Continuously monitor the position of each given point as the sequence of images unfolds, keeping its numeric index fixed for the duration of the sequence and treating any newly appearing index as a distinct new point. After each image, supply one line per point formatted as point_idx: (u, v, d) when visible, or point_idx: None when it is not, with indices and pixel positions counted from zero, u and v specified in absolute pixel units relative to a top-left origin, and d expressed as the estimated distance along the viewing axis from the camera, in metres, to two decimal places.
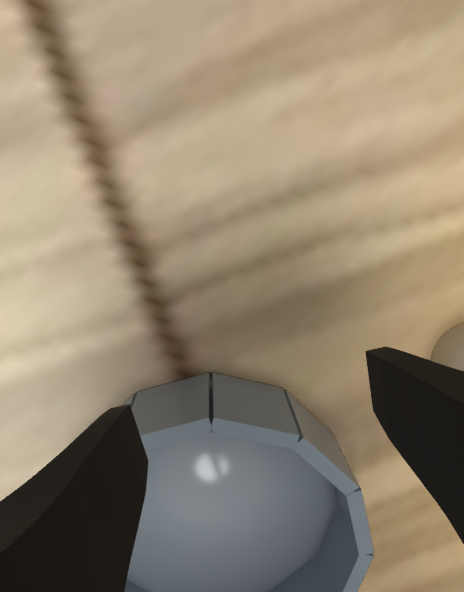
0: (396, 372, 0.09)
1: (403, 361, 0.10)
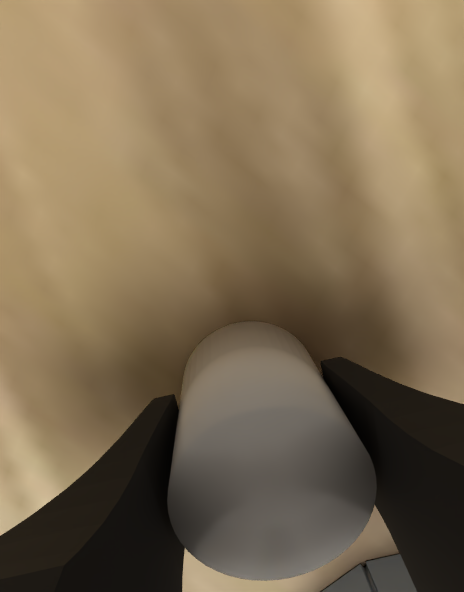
0: (342, 384, 0.09)
1: (350, 373, 0.10)
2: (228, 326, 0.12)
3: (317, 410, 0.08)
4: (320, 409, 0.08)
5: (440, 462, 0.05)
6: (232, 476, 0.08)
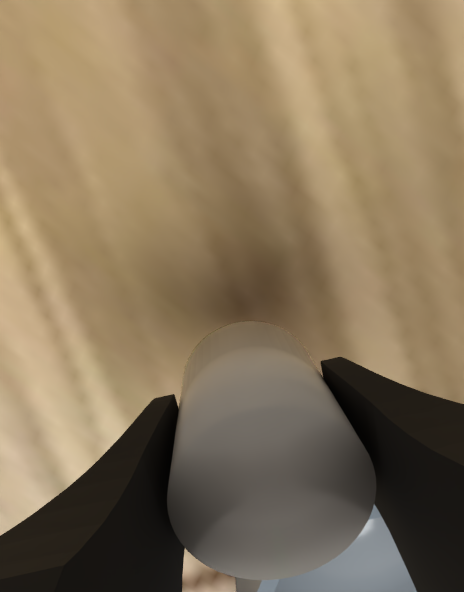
0: (342, 384, 0.09)
1: (350, 373, 0.10)
2: (228, 326, 0.12)
3: (316, 409, 0.08)
4: (319, 408, 0.08)
5: (440, 462, 0.05)
6: (232, 476, 0.08)
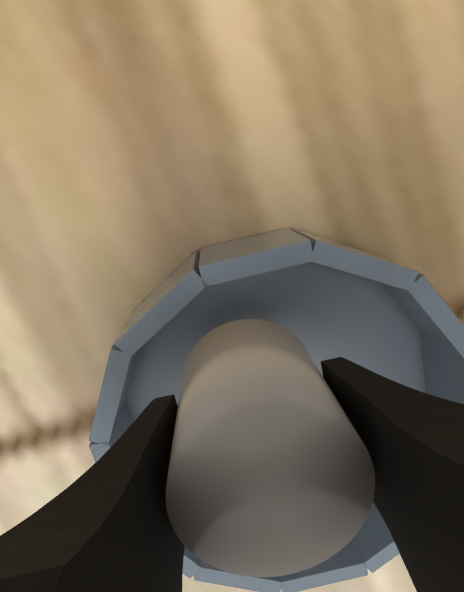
0: (342, 384, 0.09)
1: (350, 373, 0.10)
2: (226, 324, 0.12)
3: (313, 404, 0.08)
4: (316, 403, 0.08)
5: (440, 462, 0.05)
6: (231, 472, 0.08)
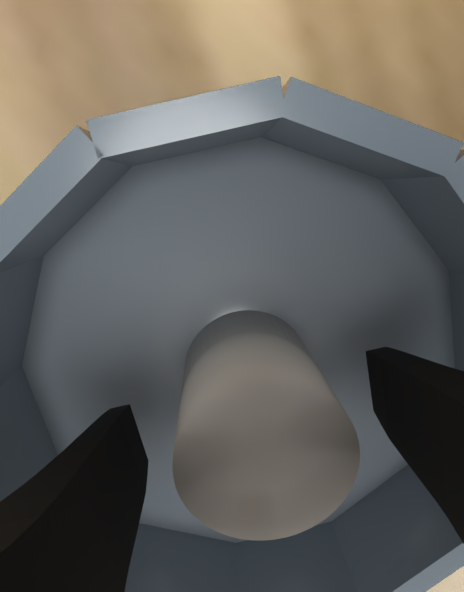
0: (396, 372, 0.09)
1: (403, 361, 0.10)
2: (225, 315, 0.13)
3: (304, 383, 0.09)
4: (307, 382, 0.09)
5: None
6: (230, 444, 0.09)
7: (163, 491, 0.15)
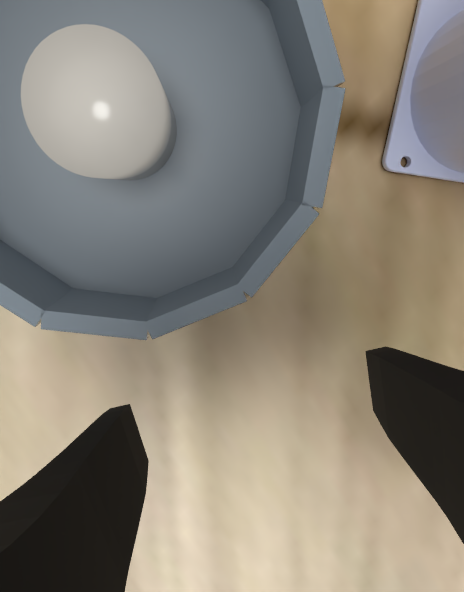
0: (396, 372, 0.09)
1: (403, 361, 0.10)
2: None
3: (137, 47, 0.12)
4: (140, 50, 0.12)
5: None
6: (71, 73, 0.12)
7: (26, 214, 0.18)
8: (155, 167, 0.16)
